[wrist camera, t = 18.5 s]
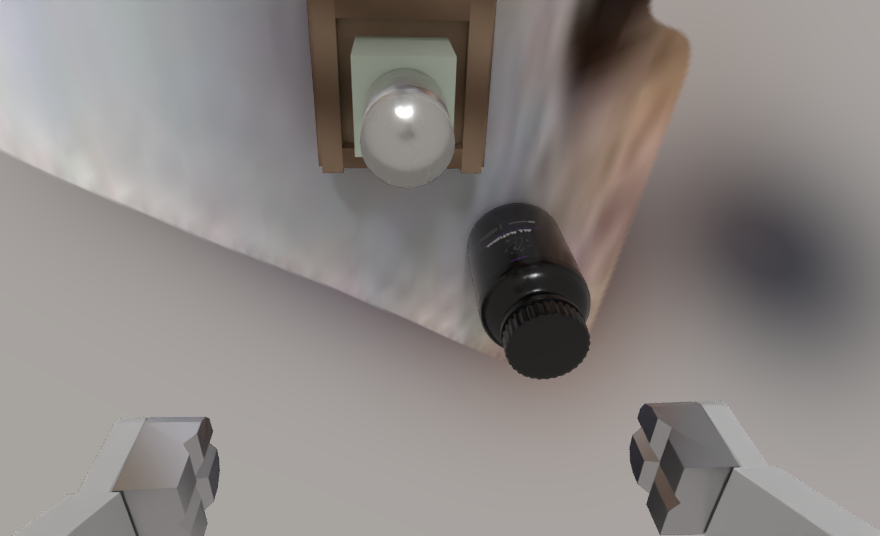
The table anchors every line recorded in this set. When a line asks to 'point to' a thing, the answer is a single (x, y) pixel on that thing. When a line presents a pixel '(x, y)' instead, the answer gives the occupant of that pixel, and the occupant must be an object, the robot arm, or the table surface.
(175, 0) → the table surface
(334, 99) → the walnut base
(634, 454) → the robot arm
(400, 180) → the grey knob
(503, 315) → the supplement bottle
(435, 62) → the sage cube
